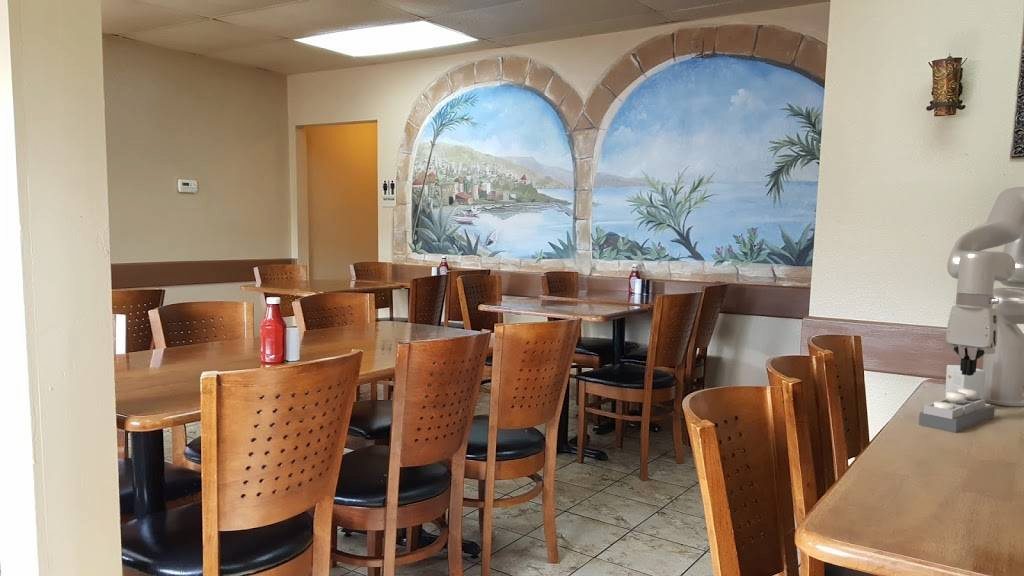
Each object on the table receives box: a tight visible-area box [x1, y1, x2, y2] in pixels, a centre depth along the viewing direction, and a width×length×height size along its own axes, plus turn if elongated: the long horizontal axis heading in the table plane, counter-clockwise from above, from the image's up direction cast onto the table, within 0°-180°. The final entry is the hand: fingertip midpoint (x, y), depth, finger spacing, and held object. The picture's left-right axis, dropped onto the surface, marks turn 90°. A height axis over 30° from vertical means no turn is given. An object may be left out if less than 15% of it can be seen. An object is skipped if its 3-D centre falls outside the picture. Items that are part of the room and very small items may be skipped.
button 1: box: [933, 401, 954, 410], centre depth 168 cm, size 4×4×2 cm
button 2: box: [958, 388, 977, 400], centre depth 177 cm, size 4×4×2 cm
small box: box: [944, 364, 985, 399], centre depth 190 cm, size 8×6×10 cm
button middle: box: [946, 391, 966, 403], centre depth 173 cm, size 4×4×2 cm
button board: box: [918, 397, 996, 434], centre depth 174 cm, size 24×8×5 cm, turn 128°
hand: (967, 374), depth 176 cm, fingers closed
